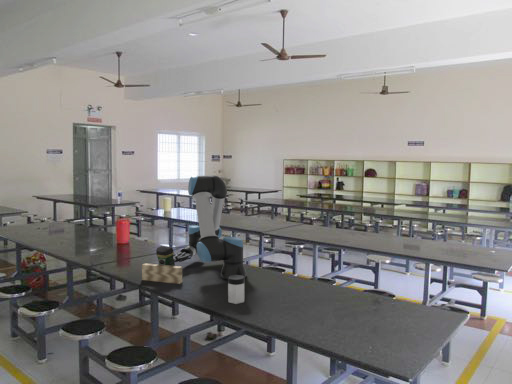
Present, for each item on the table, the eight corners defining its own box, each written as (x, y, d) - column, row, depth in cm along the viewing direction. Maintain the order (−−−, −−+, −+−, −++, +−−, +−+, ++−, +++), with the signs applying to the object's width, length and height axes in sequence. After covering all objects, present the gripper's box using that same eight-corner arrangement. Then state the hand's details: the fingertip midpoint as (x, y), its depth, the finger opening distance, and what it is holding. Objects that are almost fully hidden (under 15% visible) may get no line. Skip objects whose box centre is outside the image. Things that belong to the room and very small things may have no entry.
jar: (224, 301, 201) (224, 277, 200) (233, 296, 208) (233, 273, 207) (239, 305, 196) (239, 280, 195) (248, 299, 203) (248, 276, 202)
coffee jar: (179, 274, 241) (175, 245, 236) (170, 280, 234) (166, 250, 229) (166, 272, 245) (162, 243, 241) (157, 278, 239) (153, 248, 234)
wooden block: (182, 282, 231) (182, 266, 230) (179, 283, 228) (179, 268, 227) (145, 278, 238) (144, 263, 237) (142, 279, 235) (141, 264, 234)
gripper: (196, 259, 262) (178, 269, 240) (178, 257, 267) (158, 267, 244) (196, 248, 262) (178, 257, 239) (178, 246, 266) (158, 255, 243)
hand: (168, 262), depth 242 cm, fingers closed
